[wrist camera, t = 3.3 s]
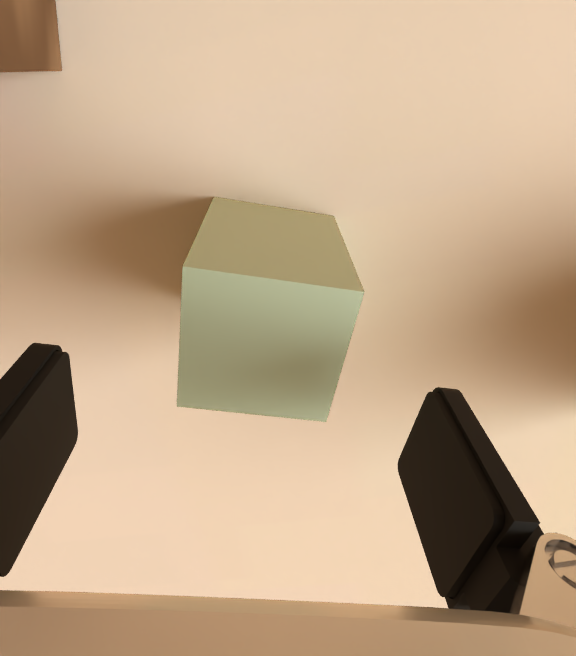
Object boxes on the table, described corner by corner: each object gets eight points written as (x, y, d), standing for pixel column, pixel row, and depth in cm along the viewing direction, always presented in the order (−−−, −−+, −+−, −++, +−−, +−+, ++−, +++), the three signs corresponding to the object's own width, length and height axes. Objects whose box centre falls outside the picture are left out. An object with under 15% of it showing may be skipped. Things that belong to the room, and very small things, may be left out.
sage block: (214, 196, 17) (182, 266, 11) (333, 215, 18) (364, 292, 12) (205, 303, 20) (176, 406, 14) (310, 317, 20) (326, 421, 14)
